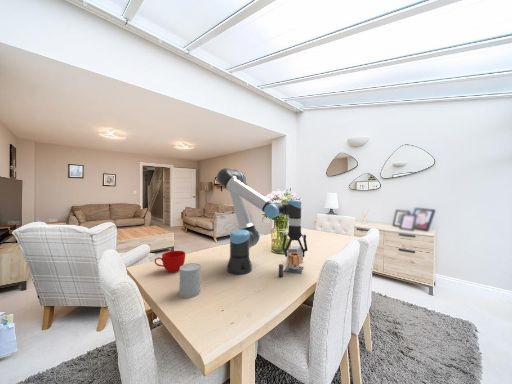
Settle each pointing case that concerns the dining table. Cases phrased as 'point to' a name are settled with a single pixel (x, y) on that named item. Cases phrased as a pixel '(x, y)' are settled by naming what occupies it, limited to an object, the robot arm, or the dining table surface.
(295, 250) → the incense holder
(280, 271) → the stand rod
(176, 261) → the ceramic cup
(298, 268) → the hub
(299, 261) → the collar
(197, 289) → the grey cylinder
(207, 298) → the dining table surface
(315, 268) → the dining table surface
